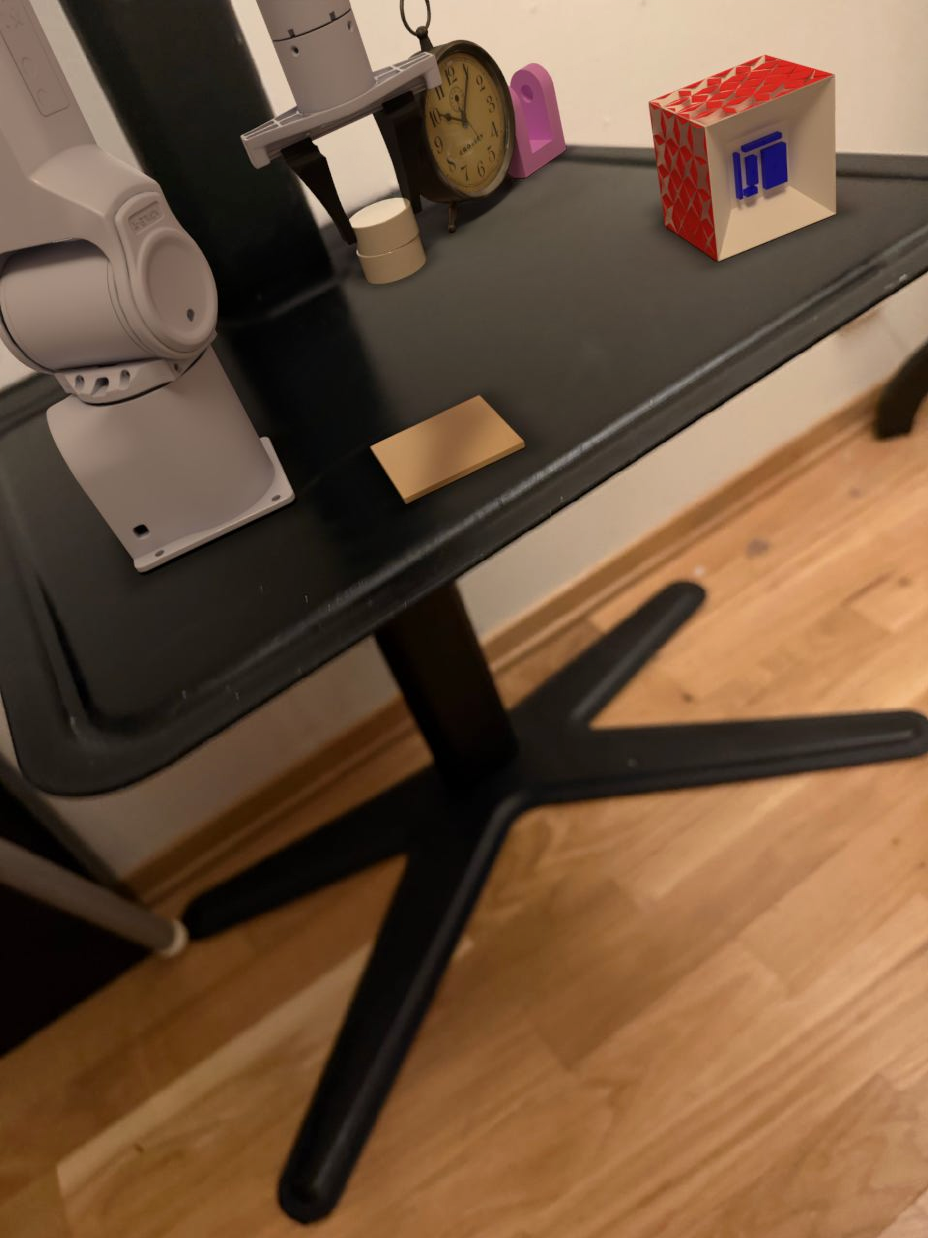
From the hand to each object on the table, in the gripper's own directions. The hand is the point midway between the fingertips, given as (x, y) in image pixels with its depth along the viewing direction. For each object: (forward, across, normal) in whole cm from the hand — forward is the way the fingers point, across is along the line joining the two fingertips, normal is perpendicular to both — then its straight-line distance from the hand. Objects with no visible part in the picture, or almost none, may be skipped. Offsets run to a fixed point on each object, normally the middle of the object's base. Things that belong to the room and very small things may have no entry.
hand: (383, 224), depth 68 cm
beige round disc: (+3, 0, 0) cm, 3 cm away
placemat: (+3, +6, +28) cm, 29 cm away
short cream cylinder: (+1, 0, 0) cm, 1 cm away
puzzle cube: (+3, -19, +18) cm, 27 cm away
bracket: (+4, -14, -13) cm, 20 cm away
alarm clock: (+4, -8, -5) cm, 10 cm away
